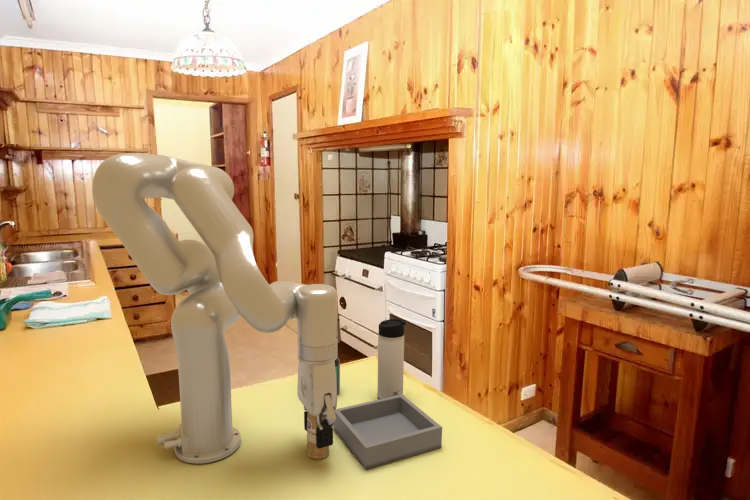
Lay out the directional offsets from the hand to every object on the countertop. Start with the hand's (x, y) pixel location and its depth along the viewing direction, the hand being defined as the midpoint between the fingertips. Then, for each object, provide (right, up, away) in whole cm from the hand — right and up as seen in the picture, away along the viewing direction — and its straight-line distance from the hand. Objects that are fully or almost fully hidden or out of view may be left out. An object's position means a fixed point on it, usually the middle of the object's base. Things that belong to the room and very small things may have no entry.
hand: (318, 436), depth 94 cm
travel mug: (+15, 0, +24) cm, 28 cm away
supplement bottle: (-1, 0, +27) cm, 27 cm away
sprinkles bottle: (0, -4, +1) cm, 4 cm away
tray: (+13, -3, +6) cm, 15 cm away
